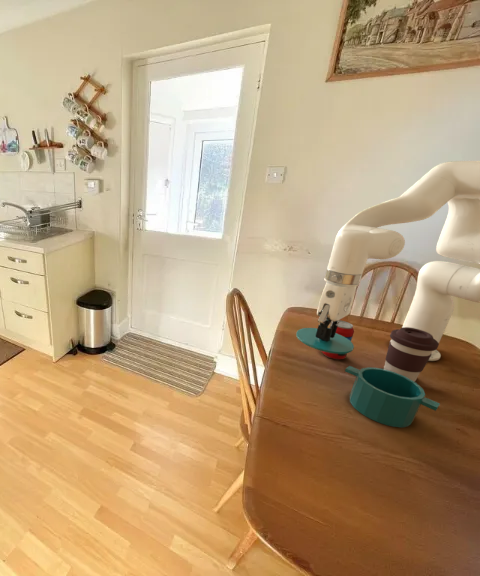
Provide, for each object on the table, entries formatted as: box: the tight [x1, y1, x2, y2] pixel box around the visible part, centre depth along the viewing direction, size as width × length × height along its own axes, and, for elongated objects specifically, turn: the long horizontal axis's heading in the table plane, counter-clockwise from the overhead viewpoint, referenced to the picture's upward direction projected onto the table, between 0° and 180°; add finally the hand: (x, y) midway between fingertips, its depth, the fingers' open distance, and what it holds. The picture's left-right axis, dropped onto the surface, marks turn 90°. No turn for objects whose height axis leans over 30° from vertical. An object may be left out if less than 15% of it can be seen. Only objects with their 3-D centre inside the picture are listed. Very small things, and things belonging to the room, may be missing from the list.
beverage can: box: [321, 319, 355, 360], centre depth 103 cm, size 7×7×12 cm
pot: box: [344, 365, 441, 428], centre depth 80 cm, size 13×18×8 cm
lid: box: [295, 324, 355, 354], centre depth 89 cm, size 14×14×6 cm
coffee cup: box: [383, 327, 440, 382], centre depth 92 cm, size 10×10×15 cm
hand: (324, 336), depth 90 cm, fingers closed on lid, 2 cm apart
